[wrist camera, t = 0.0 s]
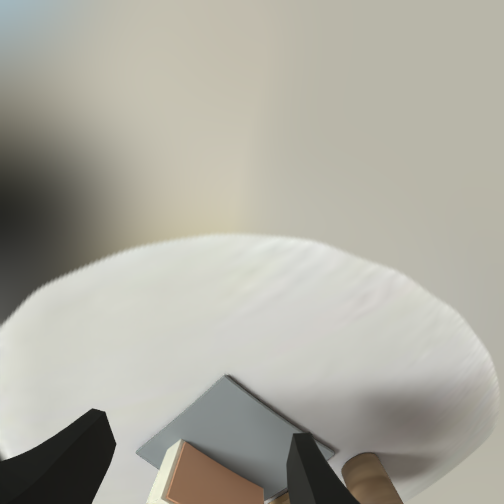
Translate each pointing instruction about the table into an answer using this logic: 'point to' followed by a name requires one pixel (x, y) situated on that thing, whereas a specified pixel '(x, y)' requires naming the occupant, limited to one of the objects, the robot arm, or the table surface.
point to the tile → (200, 480)
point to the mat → (233, 436)
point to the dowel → (369, 480)
